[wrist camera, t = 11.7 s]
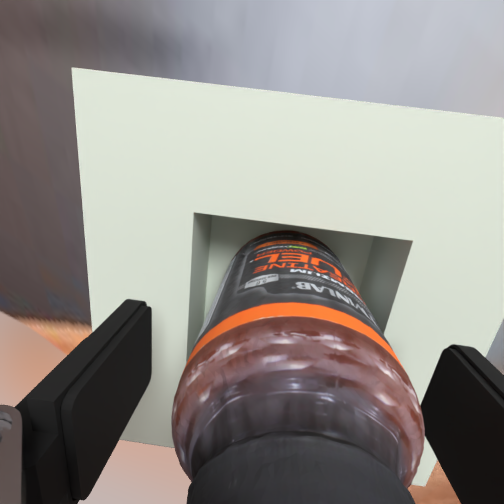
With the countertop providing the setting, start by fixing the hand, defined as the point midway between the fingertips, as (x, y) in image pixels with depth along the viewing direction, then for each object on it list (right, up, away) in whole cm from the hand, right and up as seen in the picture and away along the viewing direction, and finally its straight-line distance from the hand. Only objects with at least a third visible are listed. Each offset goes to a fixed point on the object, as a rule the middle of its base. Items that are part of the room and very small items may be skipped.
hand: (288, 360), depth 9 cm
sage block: (+1, +3, +9) cm, 10 cm away
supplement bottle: (0, +2, +6) cm, 6 cm away
